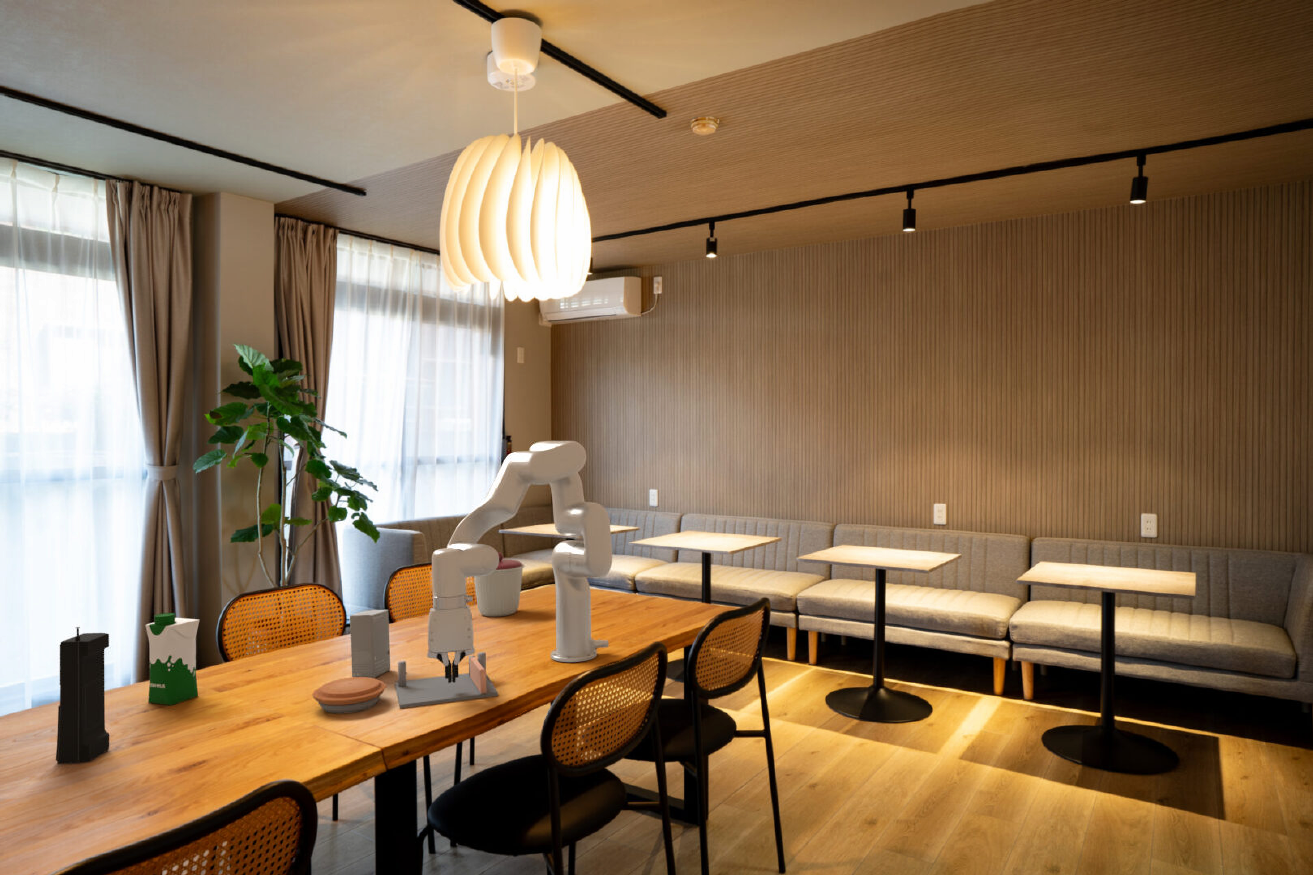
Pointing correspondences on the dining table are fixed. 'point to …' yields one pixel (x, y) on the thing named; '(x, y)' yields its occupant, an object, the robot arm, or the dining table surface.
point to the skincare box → (370, 643)
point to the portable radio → (82, 699)
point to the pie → (349, 694)
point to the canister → (500, 588)
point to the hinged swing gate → (439, 688)
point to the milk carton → (172, 659)
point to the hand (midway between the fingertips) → (452, 680)
